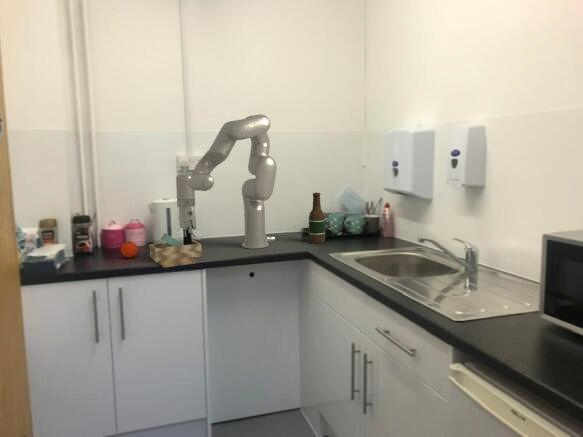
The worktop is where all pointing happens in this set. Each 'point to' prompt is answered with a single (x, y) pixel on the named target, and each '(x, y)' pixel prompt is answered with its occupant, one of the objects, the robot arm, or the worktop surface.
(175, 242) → the teal block
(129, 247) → the clementine
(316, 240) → the beer bottle
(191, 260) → the cork trivet
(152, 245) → the woven basket
